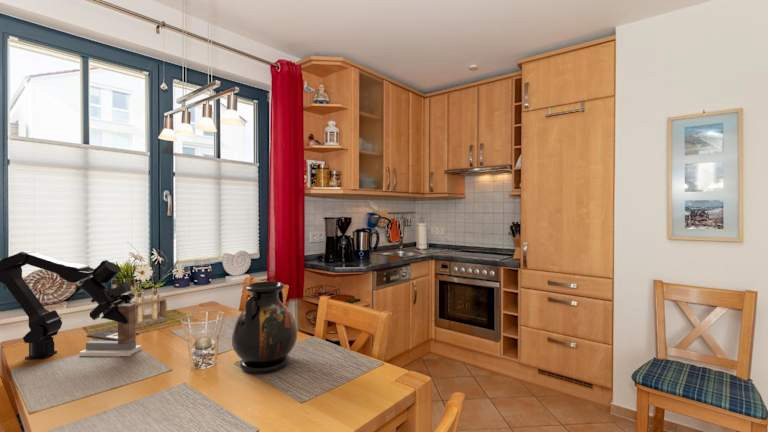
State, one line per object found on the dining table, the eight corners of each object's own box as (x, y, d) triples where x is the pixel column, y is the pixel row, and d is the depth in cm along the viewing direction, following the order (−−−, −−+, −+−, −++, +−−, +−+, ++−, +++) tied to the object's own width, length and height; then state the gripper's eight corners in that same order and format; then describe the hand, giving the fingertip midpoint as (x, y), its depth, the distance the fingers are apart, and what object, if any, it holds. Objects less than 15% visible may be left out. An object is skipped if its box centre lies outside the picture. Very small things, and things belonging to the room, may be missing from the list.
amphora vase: (272, 383, 116) (272, 293, 115) (217, 373, 123) (217, 288, 122) (308, 357, 136) (308, 281, 136) (259, 349, 143) (259, 277, 143)
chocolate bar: (108, 328, 165) (138, 333, 160) (108, 330, 165) (138, 335, 160) (86, 335, 157) (118, 340, 151) (86, 337, 157) (118, 342, 151)
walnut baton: (117, 344, 137) (117, 306, 137) (124, 340, 141) (123, 303, 141) (129, 343, 137) (129, 306, 137) (135, 340, 141) (135, 303, 141)
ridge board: (79, 356, 136) (79, 345, 136) (94, 348, 143) (94, 338, 143) (128, 356, 136) (128, 345, 136) (141, 349, 143) (141, 338, 143)
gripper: (98, 281, 129) (133, 312, 131) (129, 272, 148) (159, 299, 149) (74, 304, 128) (108, 335, 130) (108, 292, 147) (138, 319, 148)
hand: (130, 320), depth 139 cm, fingers open, 5 cm apart
